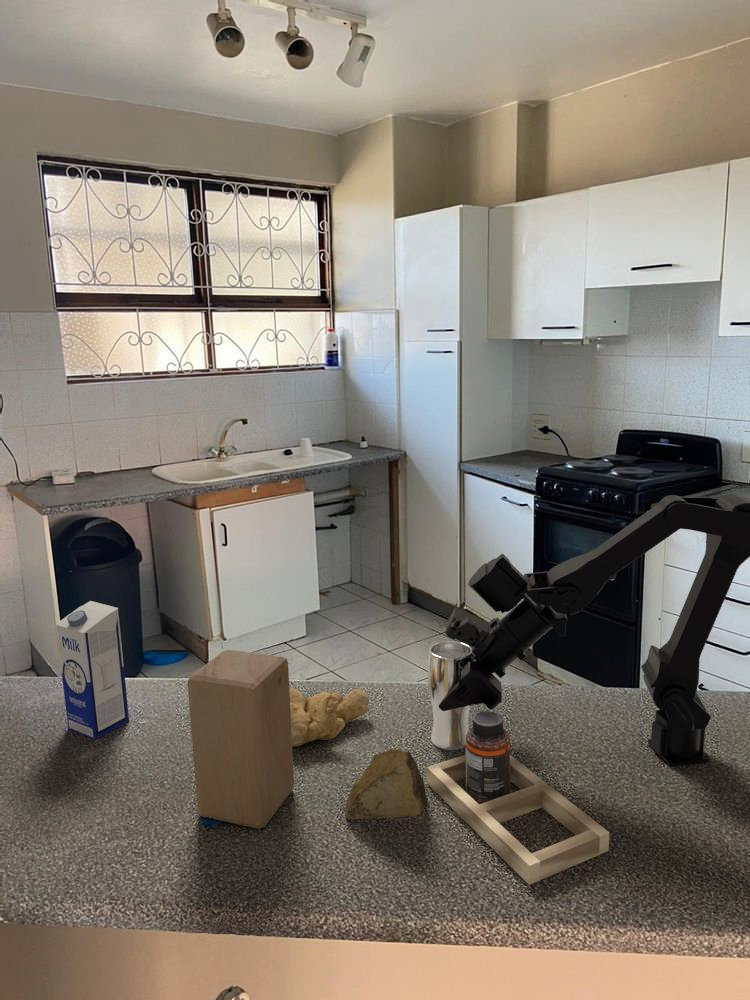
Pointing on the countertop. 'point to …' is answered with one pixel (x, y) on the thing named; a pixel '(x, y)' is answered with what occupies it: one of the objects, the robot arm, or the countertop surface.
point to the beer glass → (441, 680)
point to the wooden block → (241, 737)
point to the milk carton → (93, 669)
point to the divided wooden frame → (512, 805)
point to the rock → (388, 788)
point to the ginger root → (323, 714)
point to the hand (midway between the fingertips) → (441, 697)
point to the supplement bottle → (487, 758)
